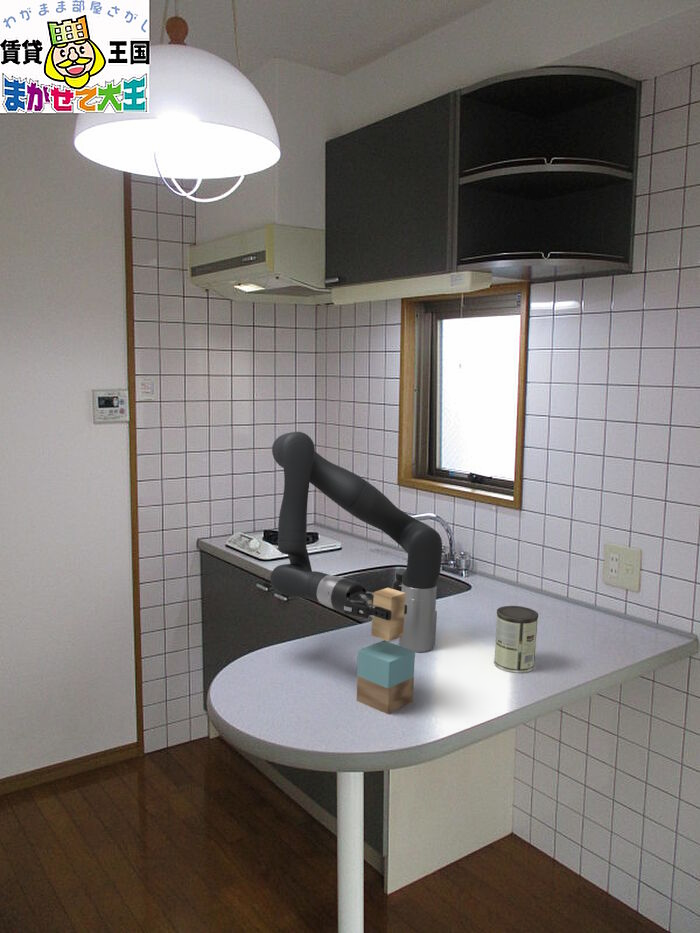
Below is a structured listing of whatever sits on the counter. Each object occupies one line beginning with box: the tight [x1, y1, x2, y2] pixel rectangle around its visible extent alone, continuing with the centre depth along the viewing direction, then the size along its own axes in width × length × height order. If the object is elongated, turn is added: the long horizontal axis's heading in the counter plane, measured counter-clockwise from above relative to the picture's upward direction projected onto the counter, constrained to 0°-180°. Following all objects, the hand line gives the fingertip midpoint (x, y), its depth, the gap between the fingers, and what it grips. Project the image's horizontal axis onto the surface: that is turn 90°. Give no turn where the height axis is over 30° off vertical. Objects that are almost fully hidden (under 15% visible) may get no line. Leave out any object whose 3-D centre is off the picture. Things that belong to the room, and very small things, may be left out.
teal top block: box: [356, 640, 416, 688], centre depth 174 cm, size 9×9×6 cm
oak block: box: [370, 587, 406, 643], centre depth 172 cm, size 5×5×10 cm
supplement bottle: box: [391, 570, 406, 592], centre depth 236 cm, size 7×7×12 cm
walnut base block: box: [356, 675, 415, 715], centre depth 175 cm, size 9×9×6 cm
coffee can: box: [493, 605, 539, 674], centre depth 198 cm, size 10×10×14 cm
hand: (398, 612), depth 171 cm, fingers closed on oak block, 5 cm apart
